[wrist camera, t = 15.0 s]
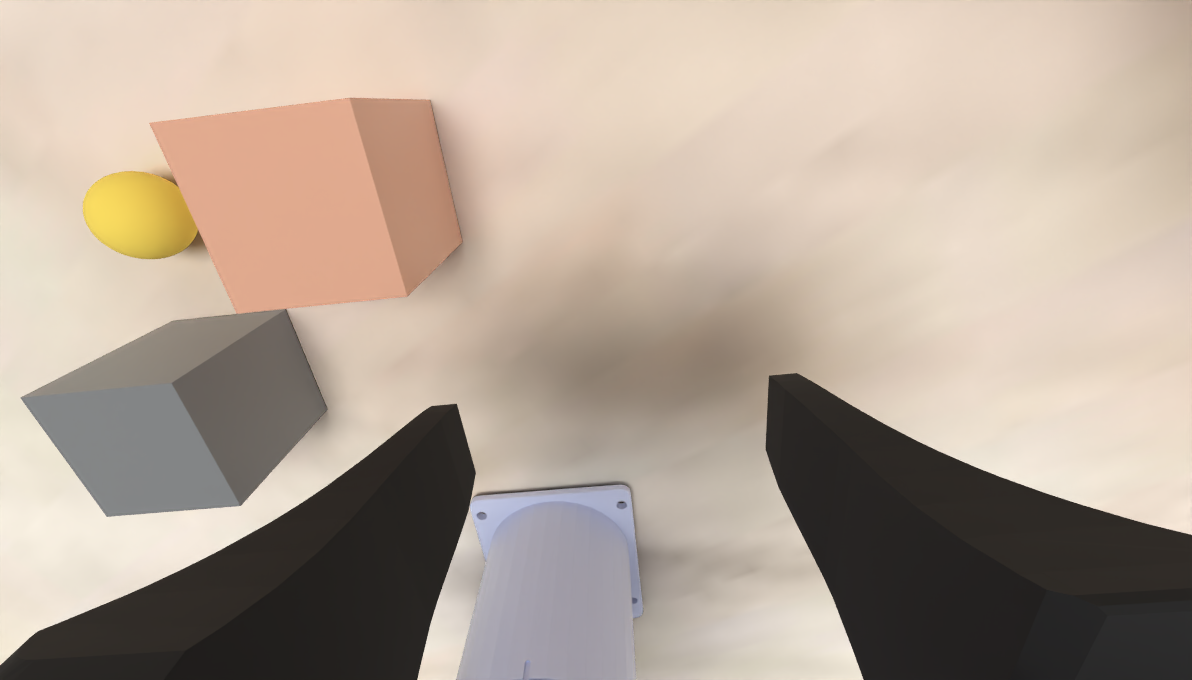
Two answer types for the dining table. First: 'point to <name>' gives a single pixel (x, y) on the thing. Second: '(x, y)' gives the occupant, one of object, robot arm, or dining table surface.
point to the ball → (139, 215)
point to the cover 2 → (183, 413)
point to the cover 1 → (316, 199)
